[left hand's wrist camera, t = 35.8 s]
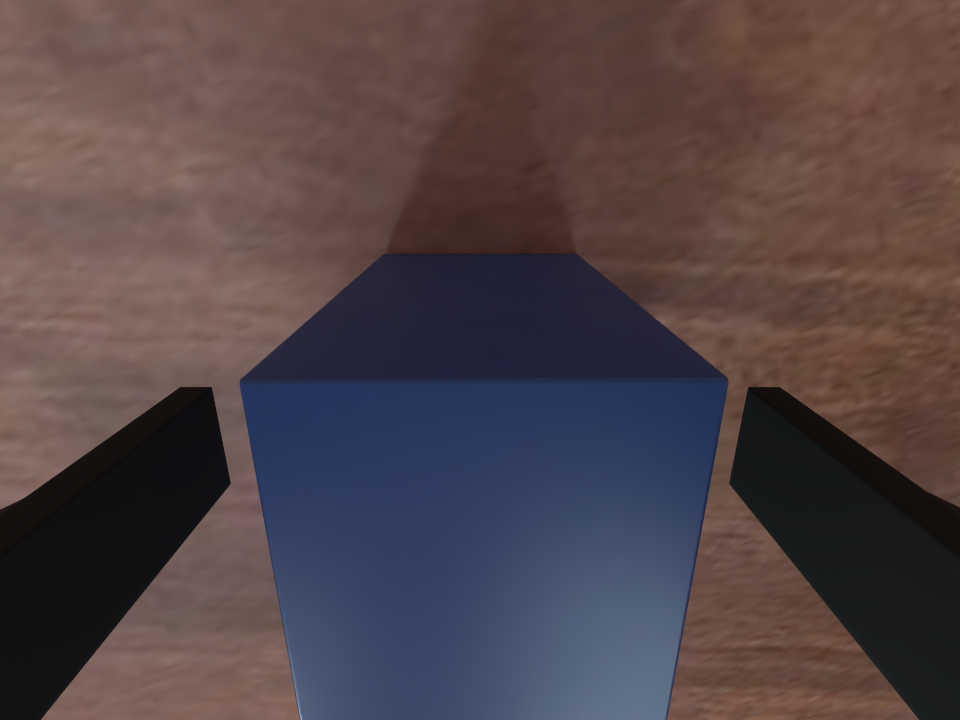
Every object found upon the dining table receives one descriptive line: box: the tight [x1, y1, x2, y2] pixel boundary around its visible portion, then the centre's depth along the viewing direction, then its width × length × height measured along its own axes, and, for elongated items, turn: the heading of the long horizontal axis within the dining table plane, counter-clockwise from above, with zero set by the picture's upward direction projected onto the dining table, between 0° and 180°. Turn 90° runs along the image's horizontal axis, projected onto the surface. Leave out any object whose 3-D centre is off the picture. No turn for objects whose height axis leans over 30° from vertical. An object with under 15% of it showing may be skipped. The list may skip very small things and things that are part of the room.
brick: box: [240, 254, 728, 720], centre depth 13 cm, size 7×7×11 cm
